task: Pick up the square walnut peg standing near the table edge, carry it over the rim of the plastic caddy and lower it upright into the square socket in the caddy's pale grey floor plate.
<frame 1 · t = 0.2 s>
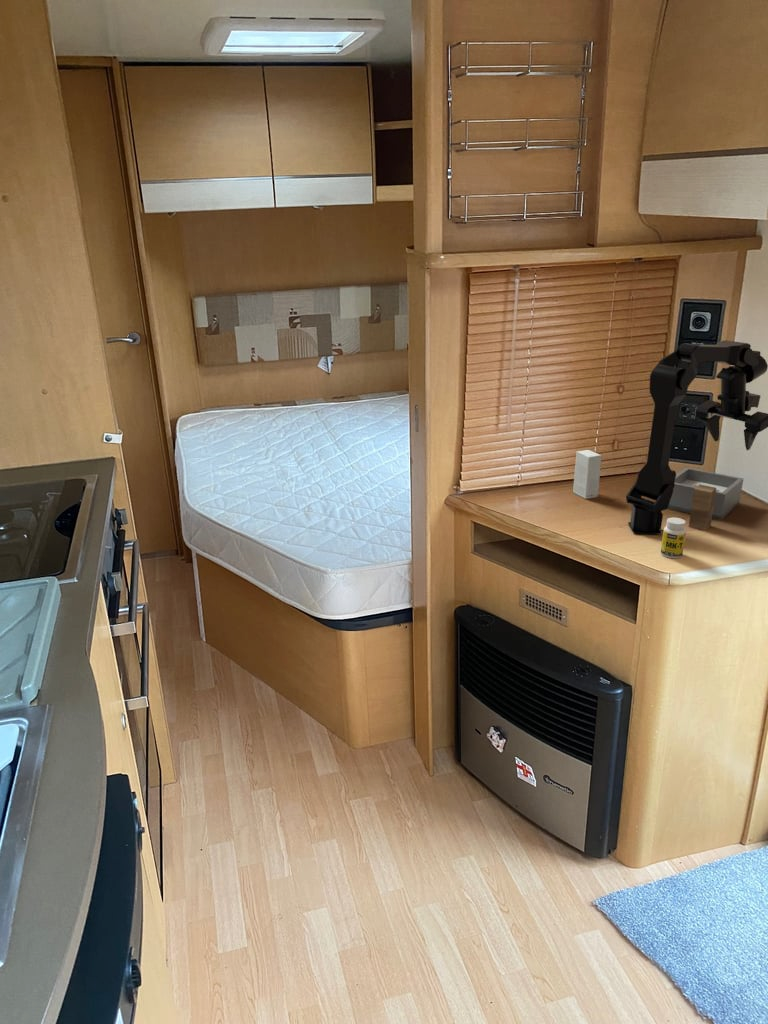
hand: (732, 445, 203), 15 cm above the cabinet, tool pointing down, fingers open, 9 cm apart
supplement bottle: (671, 555, 178), on the cabinet
caddy: (701, 505, 206), on the cabinet
skincare box: (585, 495, 214), on the cabinet
walnut peg: (699, 526, 193), on the cabinet
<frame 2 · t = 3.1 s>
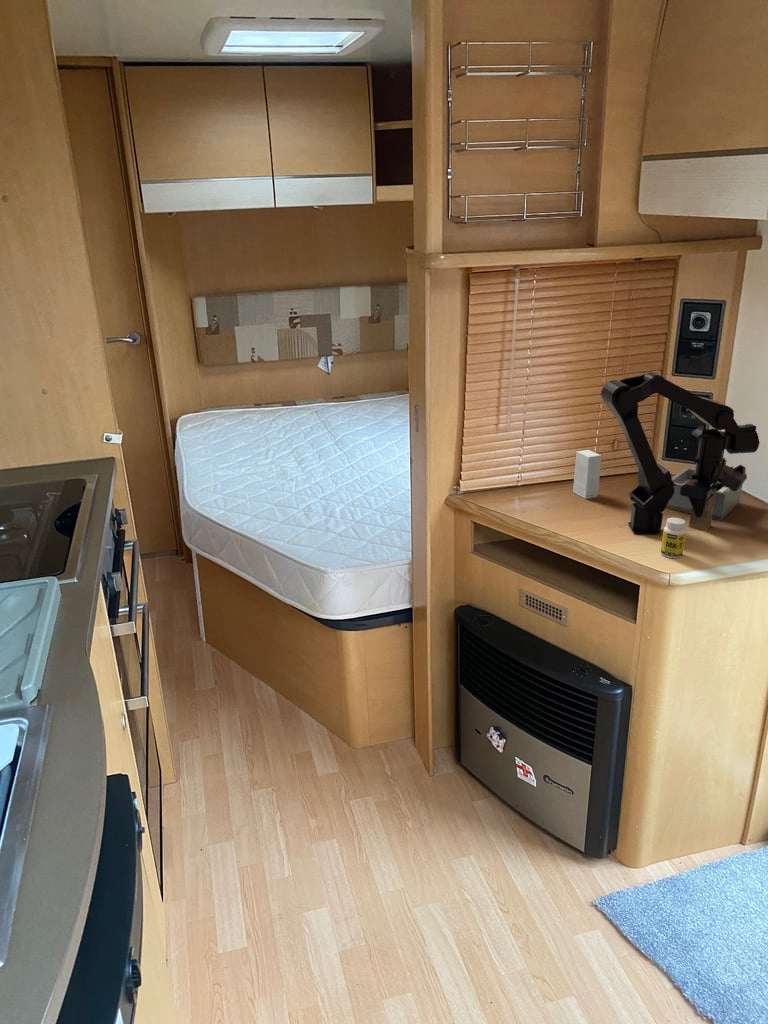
hand: (701, 514, 191), 3 cm above the cabinet, tool pointing down, fingers closed on walnut peg, 4 cm apart
walnut peg: (699, 526, 193), on the cabinet, touching gripper
everything else where it was.
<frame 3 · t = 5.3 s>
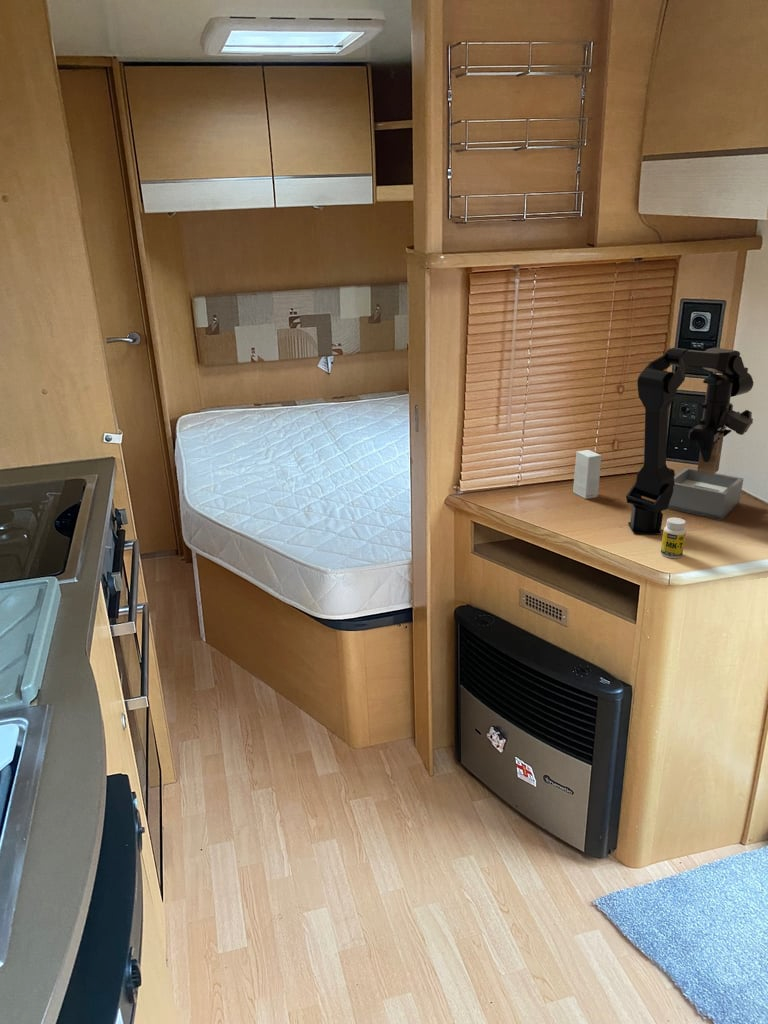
hand: (709, 459, 199), 13 cm above the cabinet, tool pointing down, fingers closed on walnut peg, 4 cm apart
walnut peg: (707, 470, 200), point 10 cm above the cabinet, touching gripper
everything else where it was.
when the fingers open (5 cm above the cabinet, at t = 7.7 s): walnut peg drops 1 cm, resting on caddy.
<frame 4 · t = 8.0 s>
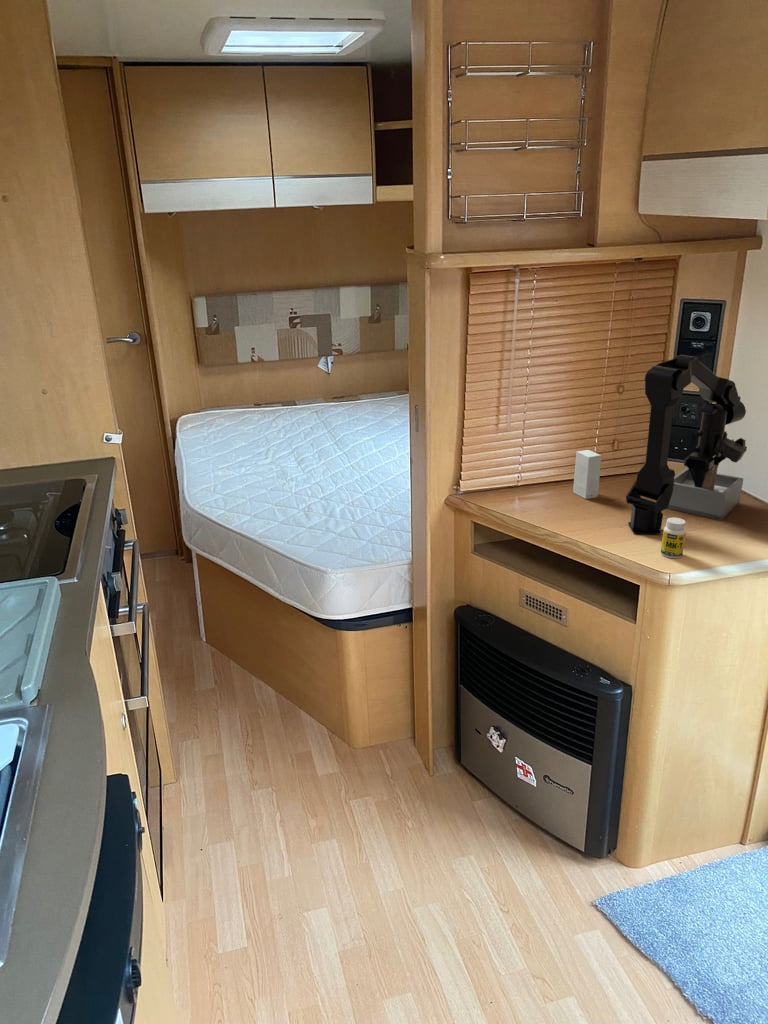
hand: (703, 485, 203), 5 cm above the cabinet, tool pointing down, fingers open, 8 cm apart
walnut peg: (701, 501, 205), point 1 cm above the cabinet, touching caddy
everything else where it was.
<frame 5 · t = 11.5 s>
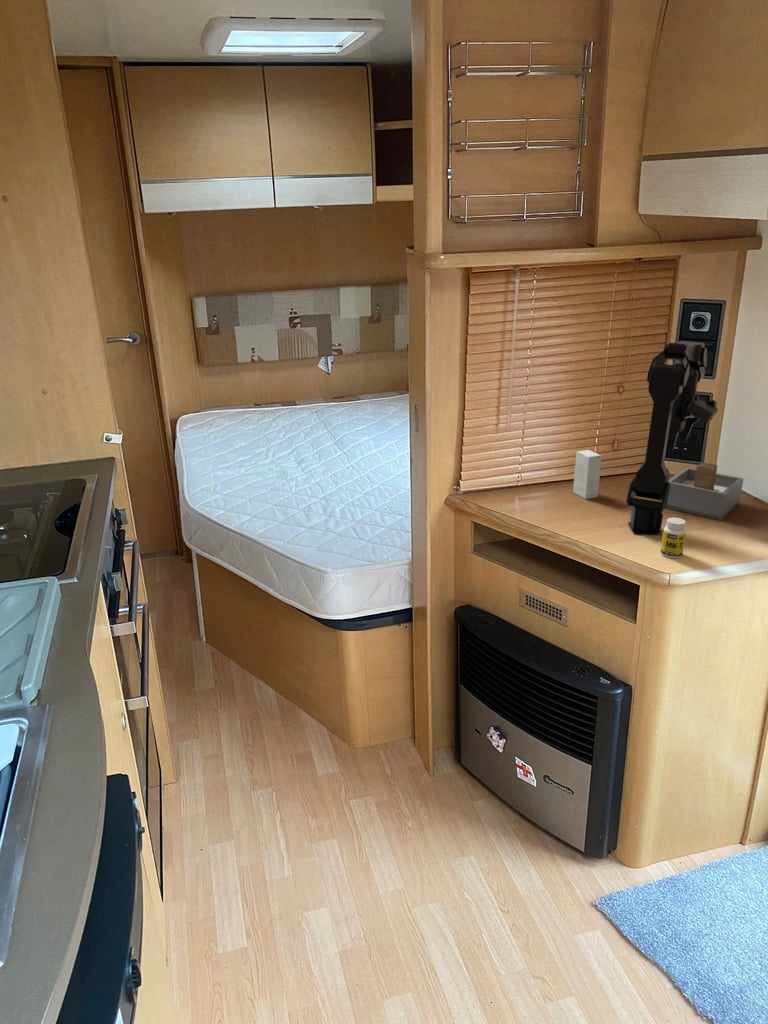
hand: (677, 446, 210), 13 cm above the cabinet, tool pointing down, fingers open, 9 cm apart
nothing on the cabinet moved.
at the end: walnut peg 0.1 cm off-centre on the caddy, point 1.0 cm above the caddy's base; walnut peg tilted 0°; the gripper is holding nothing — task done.
